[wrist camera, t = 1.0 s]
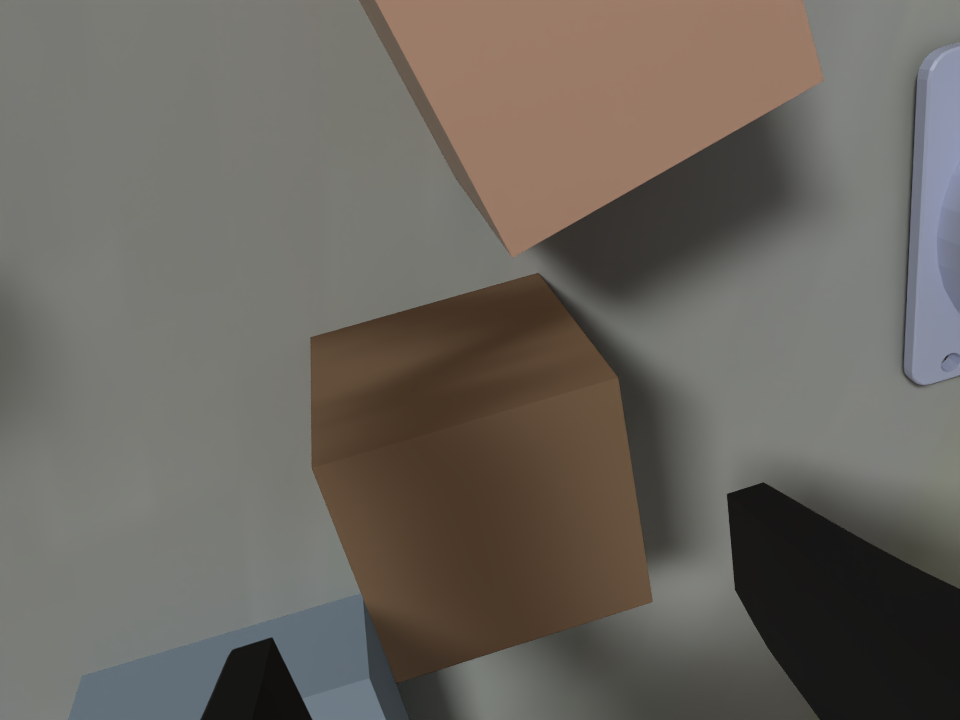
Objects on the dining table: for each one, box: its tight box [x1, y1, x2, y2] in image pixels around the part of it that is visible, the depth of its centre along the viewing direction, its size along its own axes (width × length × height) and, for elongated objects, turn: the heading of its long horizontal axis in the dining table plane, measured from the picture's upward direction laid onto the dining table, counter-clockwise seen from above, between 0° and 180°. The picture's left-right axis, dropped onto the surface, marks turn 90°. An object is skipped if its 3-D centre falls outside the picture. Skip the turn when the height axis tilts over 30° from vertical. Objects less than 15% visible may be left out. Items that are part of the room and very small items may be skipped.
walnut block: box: [311, 273, 653, 683], centre depth 16 cm, size 5×5×5 cm
